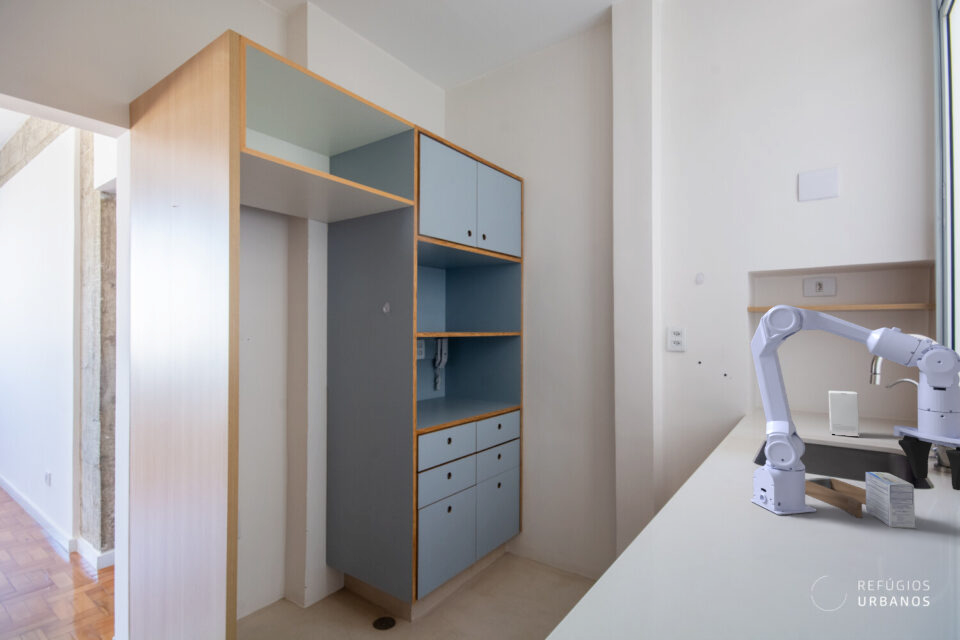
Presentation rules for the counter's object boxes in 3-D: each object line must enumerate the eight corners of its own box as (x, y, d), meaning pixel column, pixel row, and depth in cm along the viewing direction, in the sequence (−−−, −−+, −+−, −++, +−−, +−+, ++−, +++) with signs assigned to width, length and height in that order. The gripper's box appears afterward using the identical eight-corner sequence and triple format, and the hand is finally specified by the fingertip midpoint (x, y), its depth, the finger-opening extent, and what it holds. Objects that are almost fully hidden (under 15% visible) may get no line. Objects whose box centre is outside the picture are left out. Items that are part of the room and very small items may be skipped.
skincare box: (857, 434, 169) (856, 391, 169) (860, 438, 163) (859, 393, 163) (828, 431, 173) (828, 389, 173) (830, 435, 168) (829, 391, 168)
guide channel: (858, 518, 96) (858, 503, 96) (795, 492, 111) (795, 479, 111) (901, 514, 98) (901, 499, 98) (834, 489, 113) (834, 476, 113)
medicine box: (915, 529, 91) (915, 484, 91) (889, 527, 92) (889, 483, 92) (889, 513, 99) (888, 472, 99) (865, 511, 100) (864, 471, 100)
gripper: (1005, 416, 80) (1006, 496, 80) (913, 402, 95) (914, 470, 94) (973, 418, 79) (974, 499, 79) (884, 404, 93) (885, 472, 93)
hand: (939, 483), depth 87 cm, fingers open, 6 cm apart
